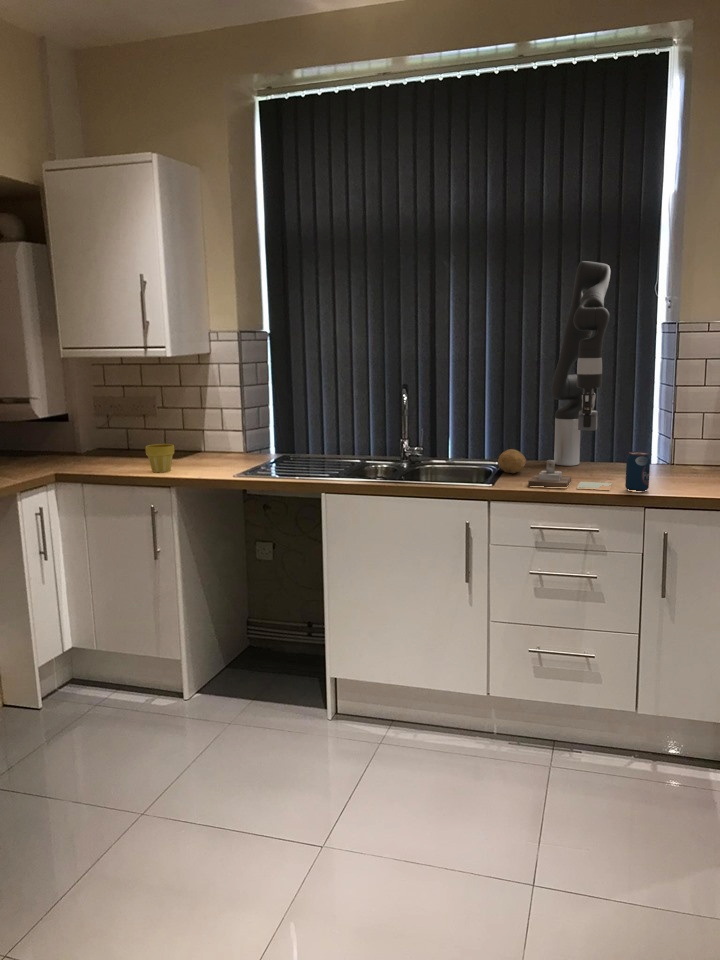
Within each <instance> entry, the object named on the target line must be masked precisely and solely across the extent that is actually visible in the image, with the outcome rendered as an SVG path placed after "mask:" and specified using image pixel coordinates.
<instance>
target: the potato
mask: <svg viewBox="0 0 720 960" xmlns="http://www.w3.org/2000/svg"><path fill="white" fill-rule="evenodd" d="M526 462H527V459H526V457H525V455H523V453H521V451H519V450H518V449H513V448H510V449H506V450H504V451H503V452H502V453H501V454H499V457H498V459H497V463H498V466H499V469H501V470H502V471H504V472H505V473H507V474H508V473H509V474H516V473H518V472H521V471H522V470H523V469H524V467H525V466H526Z"/></svg>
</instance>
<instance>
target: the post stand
mask: <svg viewBox="0 0 720 960" xmlns="http://www.w3.org/2000/svg"><path fill="white" fill-rule="evenodd" d="M555 466H556V464H555V460H554V459H548V460H546V469H545V470H541V471H540V472H539V474H534V475H533V476H532V477H531V478H530V479H529V480H528V486H544V487H567V486H568V485H569V483H570V482H571V483H572V476H570V475H569V476H568V475H567V476H566V475H563V474H562V471H561V470H560V471H558V470H557V471H556V470H555V468H556V467H555ZM571 483H570V484H571ZM569 486H570V485H569ZM569 486H568V487H569Z"/></svg>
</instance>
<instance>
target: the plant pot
mask: <svg viewBox="0 0 720 960" xmlns="http://www.w3.org/2000/svg"><path fill="white" fill-rule="evenodd" d="M144 448H145V455H146V456H147V458H148V462H149V464H150V468H151V471H152V473H156V472H162V473H168V472H167V471H169V472H171V471H172V470H171V468H172V463H173V456H174V454H175V445H174V444H171V443H155V444H149V445H148V444H147V445H146V446H145V447H144Z"/></svg>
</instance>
